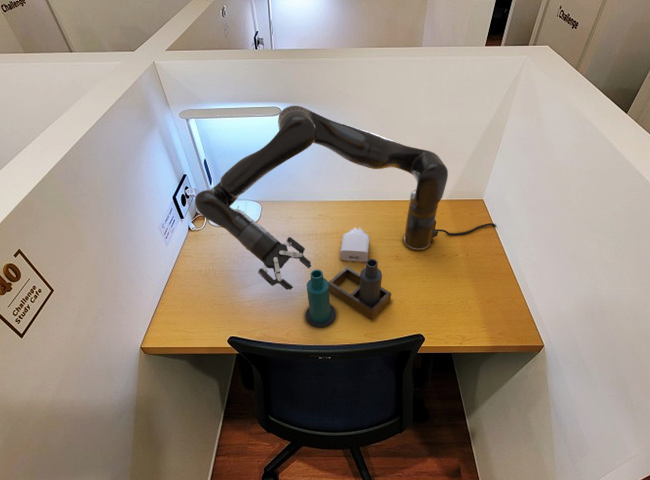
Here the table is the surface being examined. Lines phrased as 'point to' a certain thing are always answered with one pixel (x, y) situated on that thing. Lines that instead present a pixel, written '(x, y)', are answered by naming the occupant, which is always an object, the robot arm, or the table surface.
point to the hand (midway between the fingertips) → (301, 277)
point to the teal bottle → (318, 296)
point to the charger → (355, 245)
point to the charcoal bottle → (370, 283)
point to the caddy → (357, 293)
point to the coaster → (321, 324)
